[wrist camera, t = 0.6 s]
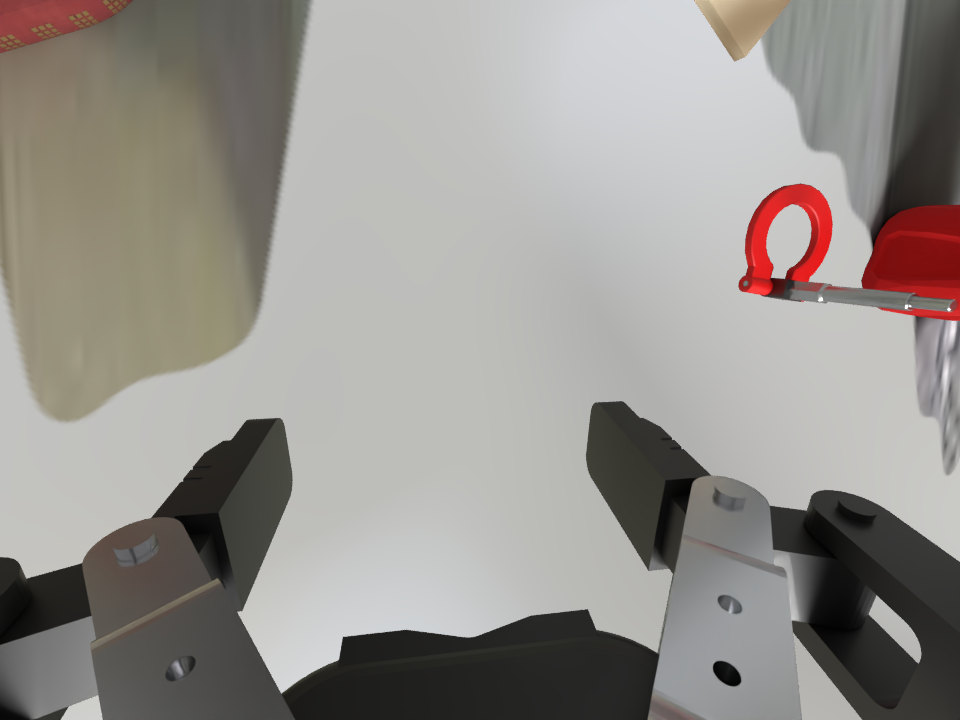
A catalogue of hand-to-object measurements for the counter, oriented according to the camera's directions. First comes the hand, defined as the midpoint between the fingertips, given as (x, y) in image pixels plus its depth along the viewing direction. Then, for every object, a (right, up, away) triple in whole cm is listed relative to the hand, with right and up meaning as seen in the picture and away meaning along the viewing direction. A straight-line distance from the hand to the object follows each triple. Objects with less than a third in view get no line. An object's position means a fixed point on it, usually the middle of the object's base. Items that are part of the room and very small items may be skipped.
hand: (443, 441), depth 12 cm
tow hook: (+27, +12, +26) cm, 39 cm away
